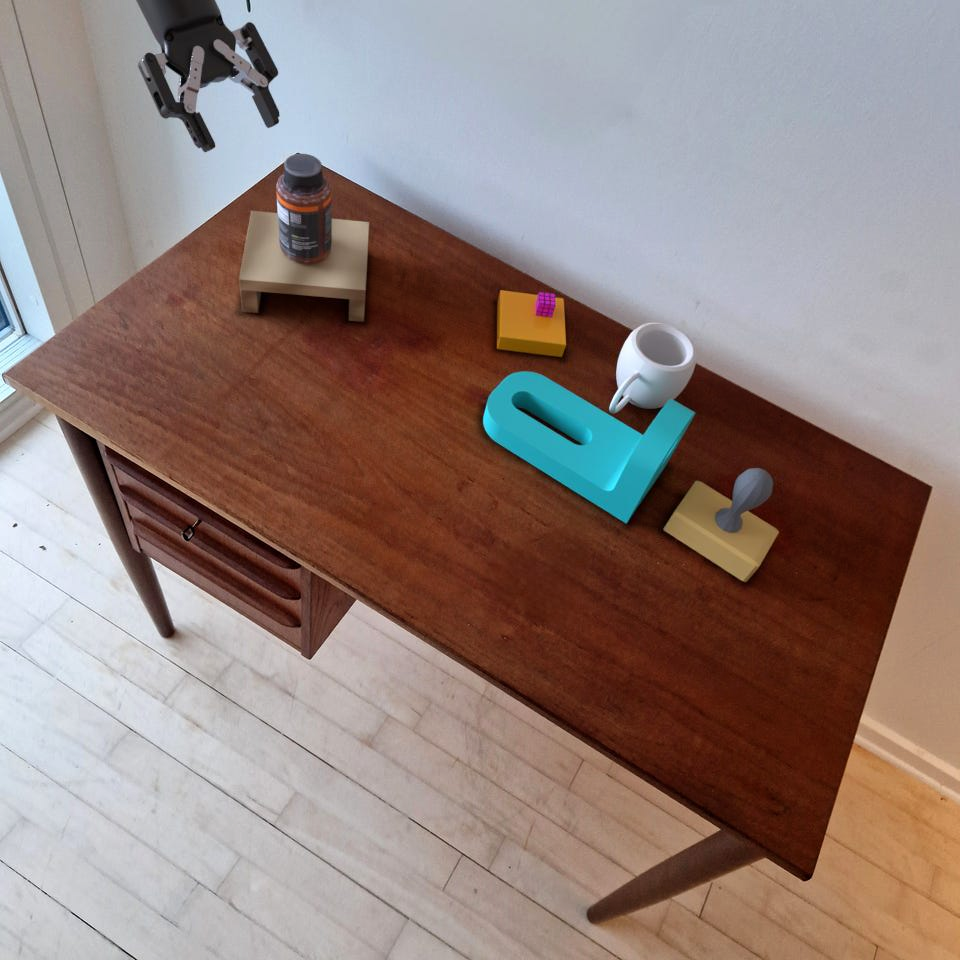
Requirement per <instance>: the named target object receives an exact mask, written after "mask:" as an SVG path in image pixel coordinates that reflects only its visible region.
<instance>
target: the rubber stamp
mask: <svg viewBox="0 0 960 960" xmlns="http://www.w3.org/2000/svg"><path fill="white" fill-rule="evenodd" d="M773 487H774V480H773V479H772V476H771V474H770V473H768V472H767V471H766V470H765V469H763V468H760V467H752V468H748V469H746V470H744V471H743V472H742V473H741V474H739V475H738V477H736V479H735V481H734V486H733V489H732V500H731V499H730V498H728V497H726V496H724V495H723V494H722V493H720V492H718V491H716V490H715V489H714V488H712V487H710V486H709V485H707V484H705V483H704V482H702V481H700V480H695V481H694V483H693V484H692V486H691V487H690V489H688V491H687V493H686V494H685V495H684V497H683V499H682V500H681V501H680V503H679V504H678V505H677V507H676V508H675V509H674V511H673V513H672V514H671V515H670V518H669V519H668V520H667V522H666V524H665V526H664V527H663V529H662V530H663V531H664V532H666V533H667V534H669V535H670V536H671V537H673V538H675V539H676V540H678V541H679V542H681V543H683V544H684V545H686V546H687V547H689V548H690V549H692V550H694V551H695V552H696V553H697V554H699V555H701V556H703V557H705V558H706V559H707V560H709V561H711V562H712V563H713V564H715V565H717V566H718V567H720V568H721V569H723V570H724V571H726V572H727V573H728V574H731V575H732V576H734V577H735V578H736V579H738V580H740V581H742V582H744V583H747V582H748V581H749V579H750V578H751V577H752V576H754V574H755V573H756V572H757V570H759V568H760V566H761V565H762V562H763V561H764V560H765V557H766V556H767V554H768V552H769V550H770V549H771V547H772V545H773V543H775V540H776V538H777V537H778V535H779V533H780V531H779V530H778V529H777V528H776V527H774V526H772V525H771V524H769V523H768V522H766V521H764V520H763V519H761V518H759V517H758V516H757V515H755V514H753V513H752V512H750V511H751V510H753V509H756V508H758V507H759V506H761V505H762V504H763V503H765V502H766V501H767V500H768V499H770V497H771V495H772V493H773Z"/></svg>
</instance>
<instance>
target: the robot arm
mask: <svg viewBox="0 0 960 960" xmlns="http://www.w3.org/2000/svg"><path fill="white" fill-rule="evenodd" d="M135 1H136V3H137V5H138V7H139V9H140V11H141V13H142V16H143V18H144V20H146V24H147V25H148V27H149V29H150V31H151V33H152V35H153V37H154V39H155V40H156V42H157V43H158V45H159V47H160V50H161V53H156V54H154V53H153V52H146V53H145V54H144V55H143V56H142V58H141V59H140V60H139V61H138V62H137V68H138V70H139V72H140V74H141V76H142V79H143V81H144V83H145V85H146V87H147V89H148V91H149V93H150V96H151V98H152V100H153V102H154V104H155V106H156V110H157V111H158V113H159V116H160V117H161V118H162V119H169V118H174V119H179V120H181V121H182V123H183V124H184V126H185V128H186V131H187V132H188V134H189V136H190V138H191V140H192V142H193V145H194V146H195V147H196V148H197V149H201V150H202V152H204V153H208V152H210V151H212V150H214V149H216V143H215V140H214V138H213V136H212V134H211V132H210V129H209V128H208V127H207V124H206V122H205V121H204V118H203V116H202V114H201V113H200V111H198V112H196V110H197V102H198V94H199V92H200V90H201V89H203V88H207V87H208V86H209V85H210V84H213V83H214V84H215V83H220V82H224V81H226V80H227V79H229V80H230V81H232V82H233V83H235V84H240V85H241V86H242V87H244V88H245V89H247V90H248V91H249V92H251V93H252V94H253V95H252V96H251V98H252V100H253V102H254V104H255V106H256V109H257V111H258V113H259V115H260V118H261V119H262V121H263V123H264V126H265V127H266V128H267V129H270V128H273V127H275V126H276V125H278V124H279V123H280V119H279V117H280V116H281V115H280V110H279V108H278V106H277V103H276V102H275V99H274V97H273V94H272V93H271V91H270V88H269V86H270V84H271V83H272V81H273V80H274V79H275V78H276V77H278V75H279V69H278V68H277V66H276V63H275V62H274V60H273V58H272V56H271V54H270V51H269V50H268V48H267V46H266V45H265V41H264V40H263V39H262V37H261V34H260V32H259V30H258V29H257V27H256V25H255V24H254V23H253V22H251V21H248V22H246V23H245V24H244V25H242V26H241V27H239V28H237V29H235V30H230V29H229V28H228V27H227V25H226V24H225V22H224V19H223V16H222V12H221V9H220V8H219V5H218V3H217V1H216V0H135ZM236 45H238V47H239V49H240V50H243V51H244V52H245V53H246V56H247V57H248V59H249V61H250V62H249V61H248V60H246V59H245V58H243V57H242V56H241V55H240V54H238V53H237V52H236V48H237V47H236ZM166 68H168V69H169V70H171V71H172V72H174V73H176V74H177V75H178V76H179V80H178V87H177V97H178V98H177V99H178V100H177V101H176V98H175V96H174V94H173V92H172V90H171V88H170V85H169V83H168V81H167V79H166V76H165V75H166V73H167V69H166Z"/></svg>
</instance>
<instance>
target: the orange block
mask: <svg viewBox="0 0 960 960" xmlns="http://www.w3.org/2000/svg"><path fill="white" fill-rule="evenodd" d="M537 293H538V294H533V293H525V292H518V291H509V290H503V289H500V290H499V295H498V299H497V305H496V306H497V307H496V308H497V309H496V311H497V312H496V314H497V315H496V349H497V350H502V351H508V352H509V351H510V352H517V353H524V354H525V353H526V354H532V355H539V356H541V355H542V356H549V357H555V358H556V357H557V358H563V355H564V353H565V352H564V351H565V350H566V346H567V333H566V315H565V299H564V298H563V297H556V293H550V292H543V291H538V292H537Z"/></svg>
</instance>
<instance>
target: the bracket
mask: <svg viewBox="0 0 960 960" xmlns="http://www.w3.org/2000/svg"><path fill="white" fill-rule="evenodd" d="M518 408H521V409H524V410H525V411H528V412H529V413H531V414H532V415H534V416H536V417H537V418H538V419H540V420H542V421H544V422H546V423H547V424H549V425H550V426H552V427H554V428H555V429H557V430H559V431H560V432H561V433H564V434H565V435H567V436H568V437H570V438H571V439H574V440H575V441H577V442H578V443H580V444H576V443H574V442H572V441H571V440H569V439H568V438H565V437H564V436H563V435H561V434H559V433H557V432H555V431H554V430H553V429H551V428H549V427H547V426H546V425H544V424H543V423H541V422H540V421H538V420H536V419H534V418H533V417H531V416H530V415H528V414H526V413H525V412H523V411H522V410H520V409H518ZM695 415H696V412H695V411H693V410H692V409H690V408H689V407H686V406H685V405H683V404H681V403H680V402H678V401H676V400H675V399H674V400H673V399H671V398H670V399H669V400H668V401H667V403H666V404H665V405H664V406H662V407H661V409H660V411H659V412H658V413H657V415H656V416H655V418H654V419H653V420H652V422H651V423H650V424H649V425H648V427H647V429H646V430H645V432H644V433H643V434H642V433H640V432H639V431H638V430H636V429H635V428H634V429H633V428H632V427H630V425H629V426H628V425H627V424H625V423H624V422H622V421H620V420H619V419H617V418H615V417H614V416H612V415H610V414H609V413H607V412H605V411H604V410H601V409H600V408H599V407H597V406H595V405H594V404H592V403H590V402H588V401H587V400H585V399H584V398H582V397H580V396H578V395H576V394H575V393H574V392H572V391H570V390H568V389H567V388H565V387H563V386H562V385H560V384H558V383H557V382H555V381H553V380H551V379H550V378H548V377H546V376H545V375H543V374H540V373H538V372H534V371H526V370H525V371H517V372H516V371H515V372H512V373H511V374H508V375H507V376H506V377H505V378H503V380H502V381H500V383H498V385H497V386H496V387H495V388H494V389H493V390H492V391H491V392H490V394H489V395H488V398H487V401H486V405H485V409H484V413H483V416H482V417H483V418H482V424H483V427H484V430H485V433H486V434H487V435H488V436H489V438H490V439H491V440H493V441H494V442H495V443H497V444H498V445H500V446H502V447H503V448H504V449H507V450H508V451H510V453H512V454H514V455H516V456H518V457H519V458H520V459H522V460H524V461H525V462H527V463H529V464H530V465H532V466H533V467H535V468H537V469H538V470H539V471H541V472H543V473H545V474H546V475H547V476H550V477H551V478H553V479H554V480H555V481H558V482H559V483H561V484H562V485H564V486H565V487H567V488H569V489H570V490H572V491H573V492H575V493H577V494H578V495H580V496H581V497H583V498H585V499H586V500H588V501H589V502H591V503H592V504H594V505H596V506H597V507H599V508H600V509H602V510H604V511H606V512H607V513H608V514H610V515H612V516H613V517H615V518H617V519H618V520H620V521H621V522H623V523H624V524H627V523H628V522H629V521H630V519H631V518H632V516H633V515H634V513H635V512H636V511H637V509H638V507H639V506H640V505H641V503H642V501H643V500H644V499H645V497H646V496H647V494H648V493H649V491H650V490H651V488H653V486H654V484H655V483H656V481H657V480H658V478H659V476H660V475H661V474H662V472H663V471H664V470H665V468H666V466H667V465H668V462H669V461H670V459H671V458H672V456H673V454H674V452H675V450H676V449H677V447H678V445H679V443H680V441H681V440H682V438H683V437H684V434H685V433H686V431H687V429H688V427H689V426H690V424H691V423H692V421H693V419H694V418H695Z"/></svg>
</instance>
